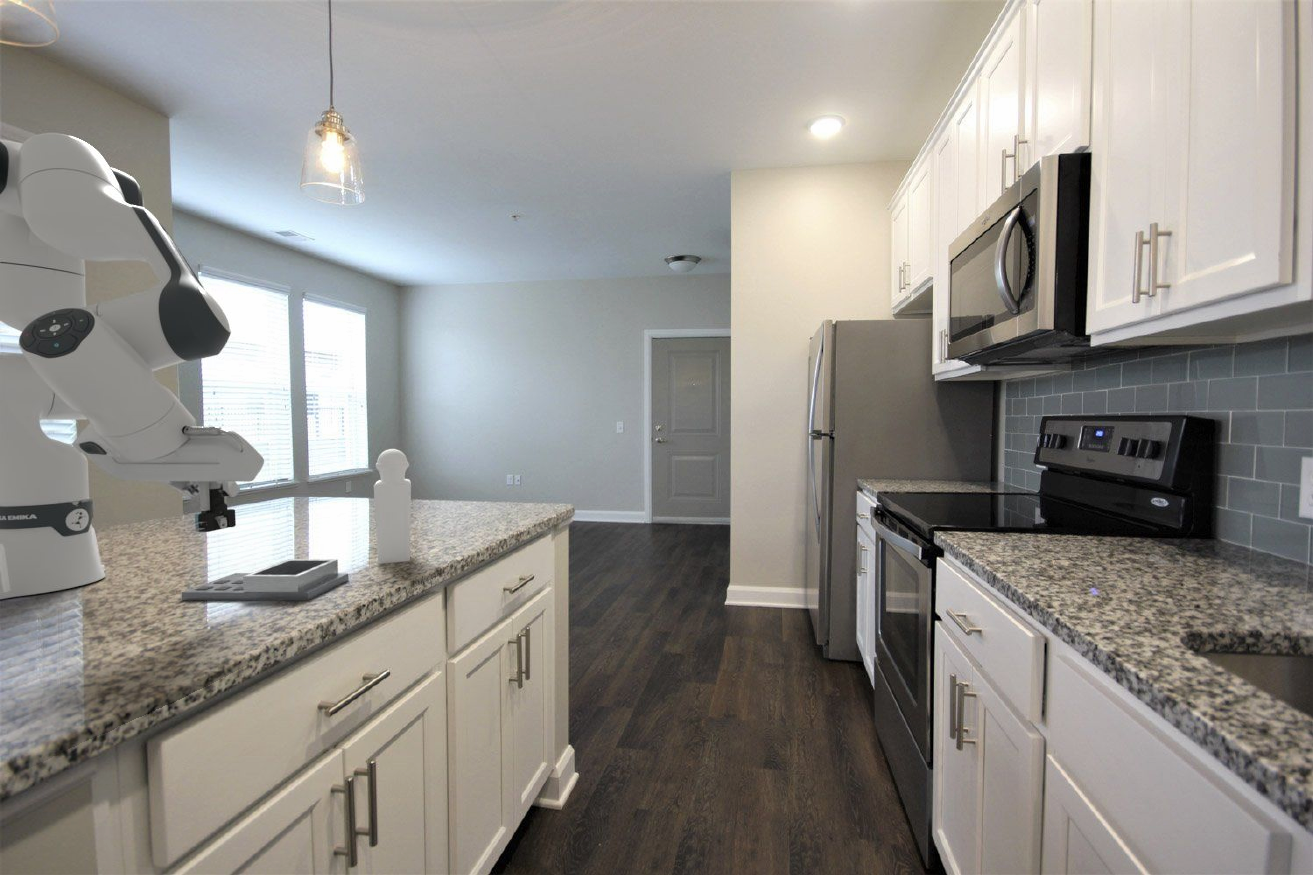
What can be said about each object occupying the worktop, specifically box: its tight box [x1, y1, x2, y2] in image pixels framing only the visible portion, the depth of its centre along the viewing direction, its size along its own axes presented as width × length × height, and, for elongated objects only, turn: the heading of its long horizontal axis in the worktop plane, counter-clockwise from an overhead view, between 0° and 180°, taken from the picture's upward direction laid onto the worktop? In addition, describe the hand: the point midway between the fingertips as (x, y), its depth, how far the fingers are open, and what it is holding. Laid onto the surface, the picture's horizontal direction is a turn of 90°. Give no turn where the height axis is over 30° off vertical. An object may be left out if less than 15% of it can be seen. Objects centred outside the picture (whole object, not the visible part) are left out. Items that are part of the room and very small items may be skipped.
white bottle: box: [373, 448, 412, 565], centre depth 114 cm, size 6×6×22 cm
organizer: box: [181, 558, 349, 601], centre depth 95 cm, size 20×11×4 cm, turn 88°
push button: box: [188, 481, 237, 533], centre depth 84 cm, size 7×5×10 cm
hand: (213, 492), depth 85 cm, fingers closed on push button, 5 cm apart
